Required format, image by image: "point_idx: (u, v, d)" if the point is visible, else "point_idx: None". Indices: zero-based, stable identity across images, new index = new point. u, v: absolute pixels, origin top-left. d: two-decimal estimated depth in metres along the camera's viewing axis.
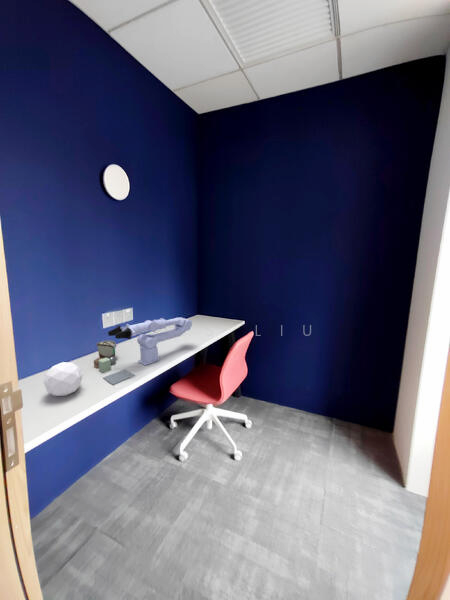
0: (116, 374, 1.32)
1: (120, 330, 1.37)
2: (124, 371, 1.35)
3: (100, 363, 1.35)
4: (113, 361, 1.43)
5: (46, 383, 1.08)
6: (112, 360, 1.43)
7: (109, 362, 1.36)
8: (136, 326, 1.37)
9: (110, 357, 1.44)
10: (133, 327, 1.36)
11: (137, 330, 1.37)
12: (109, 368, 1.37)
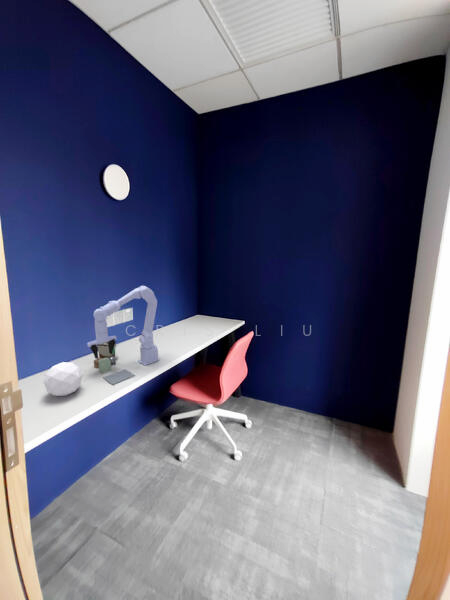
0: (116, 374, 1.32)
1: (109, 342, 1.37)
2: (124, 371, 1.35)
3: (100, 363, 1.35)
4: (113, 361, 1.43)
5: (46, 383, 1.08)
6: (112, 360, 1.43)
7: (109, 362, 1.36)
8: None
9: (110, 357, 1.44)
10: None
11: (96, 334, 1.31)
12: (109, 368, 1.37)
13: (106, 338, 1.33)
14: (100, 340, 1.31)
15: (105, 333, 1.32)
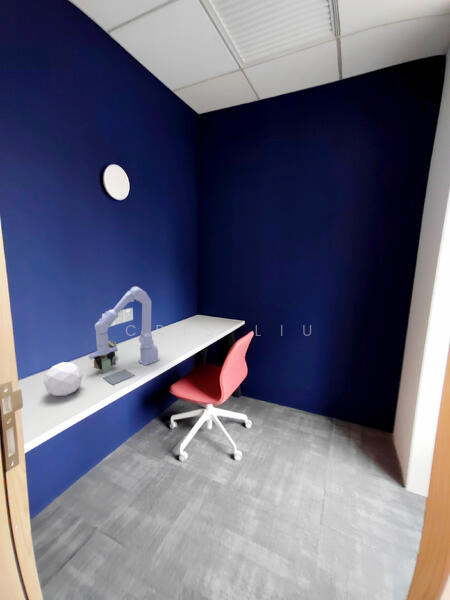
0: (116, 374, 1.32)
1: (108, 354, 1.38)
2: (124, 371, 1.35)
3: None
4: (113, 361, 1.43)
5: (46, 383, 1.08)
6: (112, 360, 1.42)
7: (109, 362, 1.36)
8: None
9: None
10: None
11: (97, 346, 1.32)
12: (109, 368, 1.37)
13: (107, 350, 1.34)
14: (101, 352, 1.32)
15: (106, 345, 1.33)
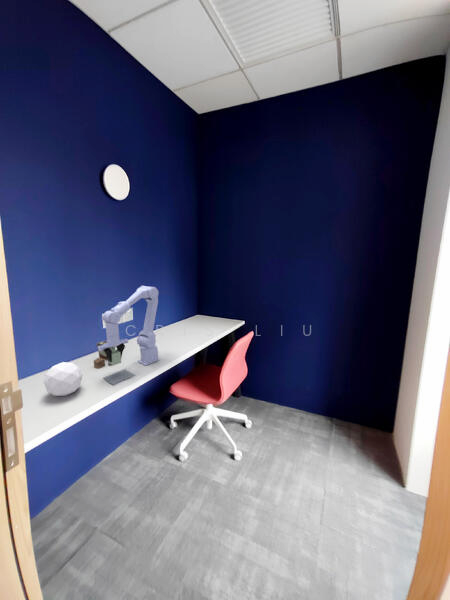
0: (116, 374, 1.32)
1: (118, 346, 1.30)
2: (124, 371, 1.35)
3: None
4: None
5: (46, 383, 1.08)
6: None
7: (119, 354, 1.29)
8: None
9: None
10: None
11: (107, 337, 1.25)
12: (119, 361, 1.29)
13: (117, 341, 1.27)
14: (111, 343, 1.25)
15: (116, 336, 1.26)
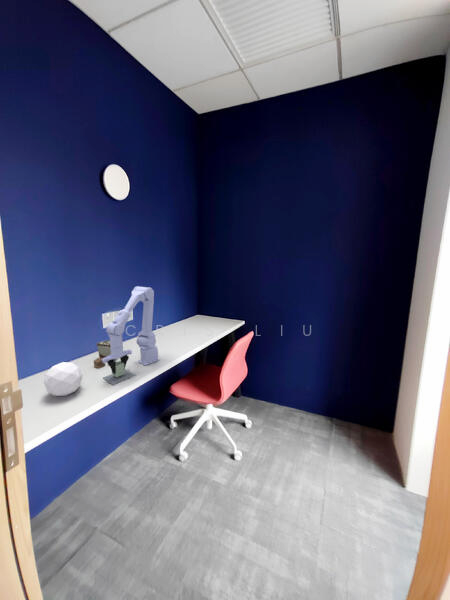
0: None
1: (121, 357, 1.30)
2: None
3: None
4: None
5: (46, 383, 1.08)
6: None
7: (123, 366, 1.29)
8: None
9: None
10: None
11: (111, 349, 1.25)
12: (123, 372, 1.29)
13: (121, 353, 1.26)
14: (115, 355, 1.25)
15: (120, 348, 1.25)
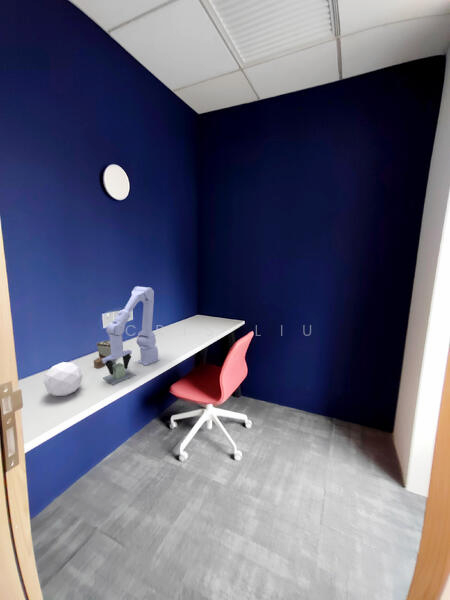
0: None
1: (124, 356, 1.31)
2: None
3: (114, 369, 1.27)
4: (112, 361, 1.42)
5: (46, 383, 1.08)
6: None
7: (123, 368, 1.29)
8: None
9: None
10: None
11: (111, 349, 1.25)
12: (123, 374, 1.29)
13: (121, 353, 1.26)
14: (115, 355, 1.25)
15: (120, 348, 1.25)
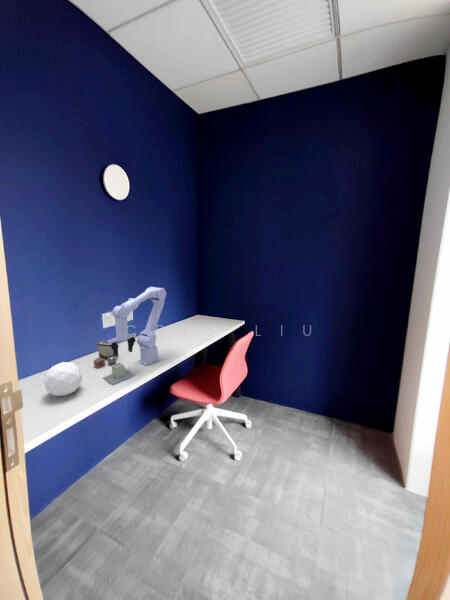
0: None
1: (129, 340, 1.35)
2: None
3: (114, 369, 1.27)
4: (111, 361, 1.42)
5: (46, 383, 1.08)
6: (110, 360, 1.42)
7: (123, 368, 1.29)
8: None
9: (110, 357, 1.44)
10: None
11: (116, 332, 1.29)
12: (123, 374, 1.29)
13: (126, 336, 1.30)
14: (120, 338, 1.29)
15: (125, 330, 1.30)
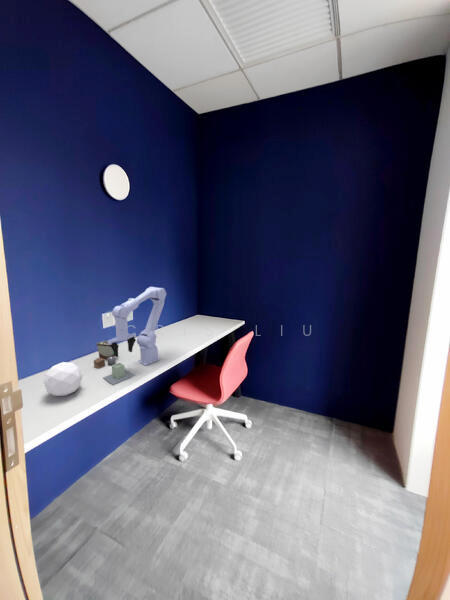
0: None
1: (129, 340, 1.35)
2: None
3: (114, 369, 1.27)
4: (110, 361, 1.42)
5: (46, 383, 1.08)
6: (109, 360, 1.42)
7: (123, 368, 1.29)
8: None
9: (110, 356, 1.44)
10: None
11: (116, 332, 1.29)
12: (123, 374, 1.29)
13: (126, 336, 1.30)
14: (120, 338, 1.29)
15: (125, 330, 1.30)
